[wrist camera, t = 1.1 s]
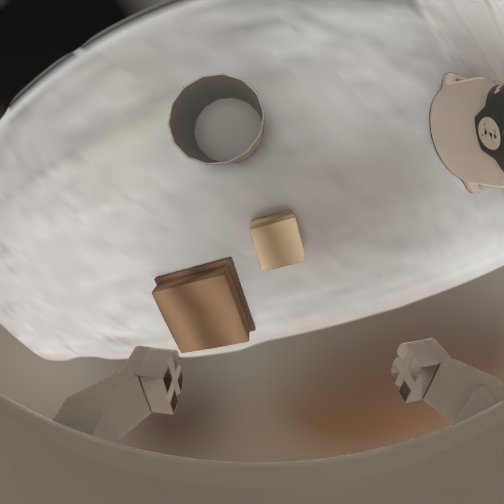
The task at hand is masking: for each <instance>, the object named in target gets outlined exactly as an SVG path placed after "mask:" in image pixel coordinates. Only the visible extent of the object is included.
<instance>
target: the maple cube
mask: <svg viewBox="0 0 504 504" xmlns="http://www.w3.org/2000/svg"><path fill="white" fill-rule="evenodd" d="M250 232H251V235H252V238H253V242H254V245H255V248H256V251H257V255H258V258H259V261H260V265H261V268H262V271H263V272H264V271H268V270H271V269H275V268H279V267H283V266H287V265H290V264H294V263H298V262H302V261H305V260H306V258H305V254H304V250H303V246H302V242H301V238H300V234H299V230H298V226H297V222H296V218H295V216H294V214H293V213H292V211H291V210H287V211H284V212H280V213H276V214H273V215H269V216H265V217H262V218H258V219H254V220H252V221H251V227H250Z"/></svg>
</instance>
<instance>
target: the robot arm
mask: <svg viewBox="0 0 504 504" xmlns="http://www.w3.org/2000/svg"><path fill="white" fill-rule="evenodd" d="M456 81H457V82H456ZM430 126H431V133H432V137H433V141H434V144H435V147H436V150H437V152H438V154H439V156H440V158H441V160H442V161H443V163H444V164H445V165H446V167H447V168H448V169H449V170H450V171H451V172H452V173H453V174H455V175H456V176H458V177H459V178H460V179H461V180H462V181H463V182H464V184H465V185H466V187H467V189H468V190H469V191H470V192H471V193H479V192H480V191H482V190H483V189H485V188H487V187H488V186H491V187H498V188H504V83H501V82H499V81H491V79H490V78H484V77H476V78H471V79H468V78H466V77H463V76H460V75H457V74H454V73H446V74H445V75H444V77H443V83H442V88H441V90H440V91H439V92H438V94H437V95H436V97H435V98H434V101H433V103H432V107H431V113H430ZM397 354H398V357H397V359H395V360H394V362H393V365H392V368H391V369H392V370H391V371H392V372H391V375H392V379H393V381H394V383H395V384H396V385H398V386H399V387H400V389H399V393H400V395H401V396H402V398H403V400H404V402H405V403H407V402H412V401H416V400H420V399H423V401H425V402H426V403H427V404H429V405H430V406H432V407H433V408H434V409H436V410H437V411H438V412H440V413H441V414H443V415H444V416H445V417H447V418H448V419H449V420H451V421H452V422H454V423H453V424H452V425H451V426H448V427H446V428H443V429H441V430H438V431H436V432H433V433H430V434H427V435H425V436H421V437H418V438H415V439H412V440H409V441H405V442H402V443H398V444H395V445H391V446H387V447H383V448H379V449H375V450H370V451H366V452H361V453H356V454H350V455H344V456H338V457H332V458H324V459H315V460H305V461H291V462H265V463H263V462H262V463H261V462H257V463H255V462H226V461H212V460H202V459H193V458H185V457H178V456H172V455H166V454H161V453H155V452H151V451H146V450H141V449H137V448H133V447H129V446H125V445H122V443H121V441H120V440H119V439H120V438H122V437H123V436H124V435H125V434H127V433H128V432H129V431H130V430H131V429H133V428H134V427H135V426H136V425H137V424H139V423H140V422H141V421H142V420H143V419H145V418H146V417H147V416H148V415H149V414H151V412H157V413H165V414H174V412H175V409H176V406H177V403H178V400H177V396H176V395H178V394H179V393H180V392H181V389H182V384H183V373H182V368H181V367H180V366H179V365H178V362H179V359H180V358H179V354H178V351H176V350H170V349H162V348H154V347H145V346H137V347H135V349H134V350H133V352H132V354H131V355H130V357H129V359H128V360H127V362H126V364H125V366H124V367H123V369H122V371H121V372H120V373H115V374H113V375H111V376H109V377H107V378H105V379H103V380H101V381H99V382H97V383H95V384H93V385H91V386H89V387H87V388H86V389H84V390H82V391H80V392H78V393H76V394H74V395H72V396H70V397H68V398H67V399H66V400H65V402H64V403H63V405H62V406H61V408H60V409H59V411H58V413H57V414H56V415H55V417H54V418H53V420H51V419H48V418H46V417H44V416H42V415H40V414H38V413H35V412H33V411H31V410H29V409H27V408H26V407H24V406H22V405H20V404H18V403H16V402H14V401H13V400H11V399H9V398H7V397H6V396H4V395H2V394H1V393H0V504H504V386H503V384H502V383H501V382H500V381H499V379H498V378H496V377H494V376H491V375H489V374H487V373H484V372H482V371H480V370H478V369H475V368H473V367H471V366H469V365H466V364H464V363H462V362H460V361H457V360H452V359H451V357H450V356H449V355H448V354H447V353H446V352H445V350H444V349H443V348H442V347H441V346H440V344H439V343H438V342H437V341H436V340H435V339H434V338H429V339H424V340H420V341H414V342H408V343H402V344H400V346H399V347H398V350H397Z"/></svg>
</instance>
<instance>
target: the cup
mask: <svg viewBox="0 0 504 504" xmlns="http://www.w3.org/2000/svg"><path fill="white" fill-rule="evenodd" d="M264 116H265V113H264V110H263V107H262V104H261V101H260V98H259V95H258V93H257V92H256V91H255V90H254V89H253V88H252V87H251V86H250V85H248V84H247V83H246V82H245V81H244V80H243V79H240V78H237V77H233V76H230V75H227V74H224V73H222V74H214V75H206V76H201V77H199V78H198V79H196V80H194V81H193V82H191V83H189V84H188V85H186V86H184V87H183V88H182V90H181V91H180V92H179V94H178V95H177V97H176V98H175V99H174V101H173V102H172V104H171V108H170V113H169V119H168V127H169V131H170V134H171V137H172V141H173V143H174V144H175V146H176V147H177V148H178V149H179V150H180V151H181V152H182V153H183V154H184V155H185V156H186V157H187V158H189V159H192V160H195V161H198V162H201V163H203V164H206V165H211V164H228V163H239V162H241V161H243V160H244V159H246V158H248V157H250V156H252V155H253V153H254V152H255V151H256V149H257V148H258V147H259V145H260V144H261V142H262V136H263V130H264Z"/></svg>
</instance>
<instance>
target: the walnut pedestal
mask: <svg viewBox="0 0 504 504" xmlns="http://www.w3.org/2000/svg"><path fill="white" fill-rule="evenodd" d="M154 280H155V282H156V284H157V286H156V288H155V289H154V290H153V291H152V295H153V297H154V299H155V301H156V303H157V306H158V308H159V310H160V312H161V314H162V316H163V318H164V320H165V322H166V324H167V326H168V328H169V330H170V332H171V334H172V336H173V338H174V340H175V342H176V344H177V346H178V348H179V350H180V351H181V353H185V352H192V351H198V350H204V349H210V348H216V347H222V346H227V345H232V344H238V343H243V342H248V341H249V332H250V331H254V330H255V325H254V322H253V319H252V317H251V314H250V311H249V308H248V305H247V302H246V299H245V296H244V293H243V291H242V288H241V285H240V282H239V279H238V276H237V273H236V270H235V267H234V264H233V261H232V258H231V257H230V258H226V259H222V260H218V261H215V262H211V263H207V264H203V265H200V266H196V267H192V268H189V269H185V270H181V271H177V272H174V273H170V274H166V275H162V276H159V277H156V278H155V279H154Z"/></svg>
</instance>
